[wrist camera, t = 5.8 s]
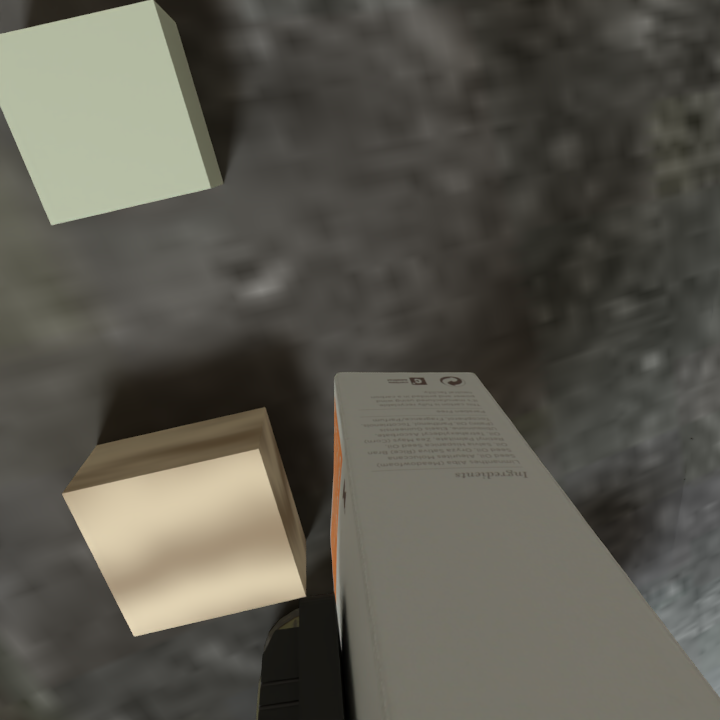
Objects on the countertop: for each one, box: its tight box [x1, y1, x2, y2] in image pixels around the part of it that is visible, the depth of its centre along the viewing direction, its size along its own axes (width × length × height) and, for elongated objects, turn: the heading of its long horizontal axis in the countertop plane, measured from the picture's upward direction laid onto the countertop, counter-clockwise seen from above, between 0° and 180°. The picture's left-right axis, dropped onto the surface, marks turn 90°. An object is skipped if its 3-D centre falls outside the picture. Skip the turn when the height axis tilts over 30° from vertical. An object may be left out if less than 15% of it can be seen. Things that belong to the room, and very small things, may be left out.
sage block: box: [0, 0, 224, 225], centre depth 23 cm, size 7×7×4 cm
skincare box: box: [330, 372, 720, 720], centre depth 11 cm, size 6×4×12 cm
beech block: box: [62, 407, 306, 636], centre depth 30 cm, size 10×10×5 cm
